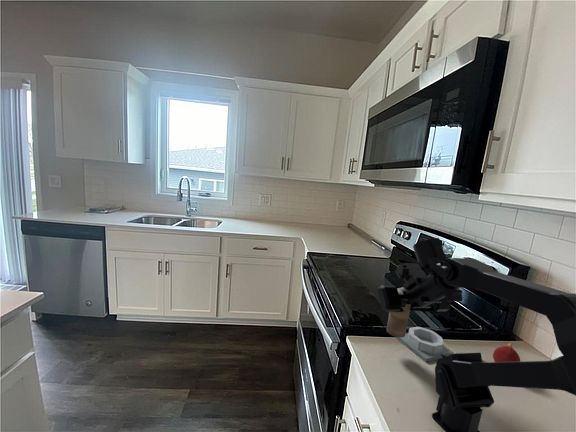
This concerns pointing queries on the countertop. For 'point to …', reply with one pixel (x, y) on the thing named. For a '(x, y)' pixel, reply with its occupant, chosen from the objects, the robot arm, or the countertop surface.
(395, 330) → the mill
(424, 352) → the dock
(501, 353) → the onion
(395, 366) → the countertop surface
